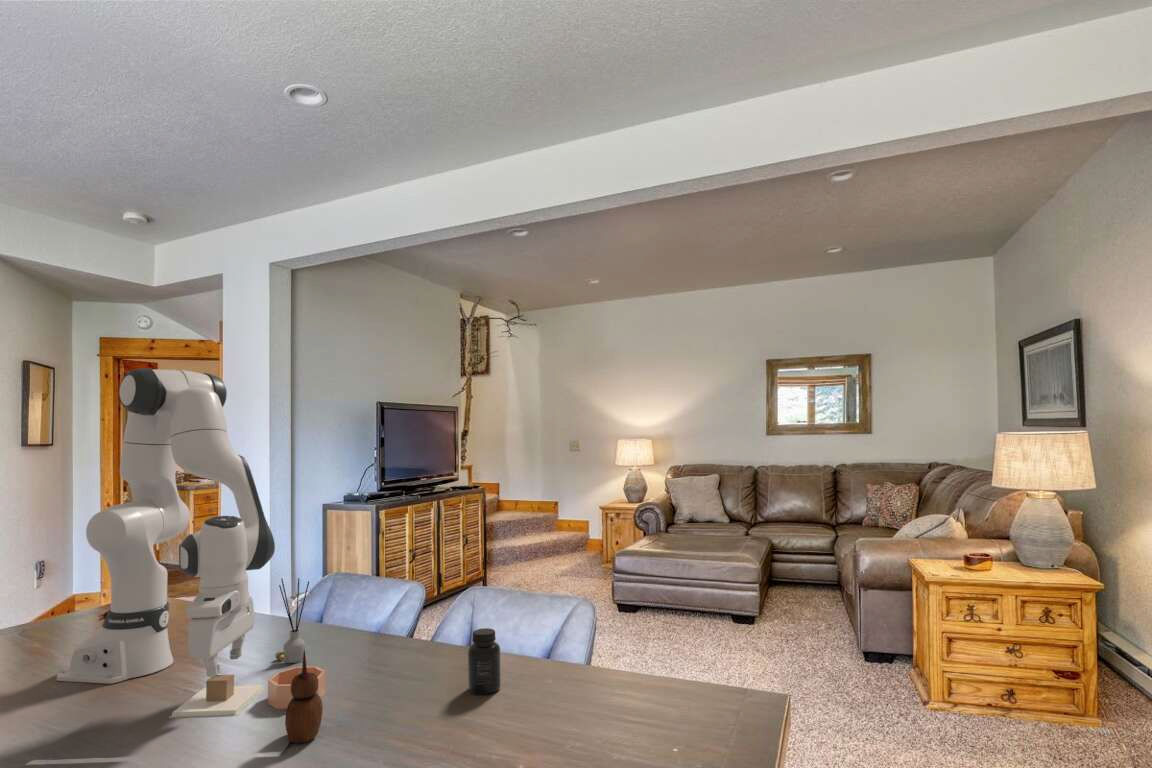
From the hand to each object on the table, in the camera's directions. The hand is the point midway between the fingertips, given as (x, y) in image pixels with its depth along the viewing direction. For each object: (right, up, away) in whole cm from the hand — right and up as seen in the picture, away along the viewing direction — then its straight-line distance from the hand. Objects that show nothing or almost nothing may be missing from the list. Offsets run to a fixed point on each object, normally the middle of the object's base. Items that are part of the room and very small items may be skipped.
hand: (224, 666), depth 131 cm
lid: (-1, -7, 0) cm, 7 cm away
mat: (-1, -8, 0) cm, 8 cm away
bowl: (+14, -8, +1) cm, 16 cm away
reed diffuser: (+3, -9, +22) cm, 24 cm away
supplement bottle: (+52, -8, +6) cm, 53 cm away
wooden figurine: (+22, -7, -15) cm, 28 cm away
